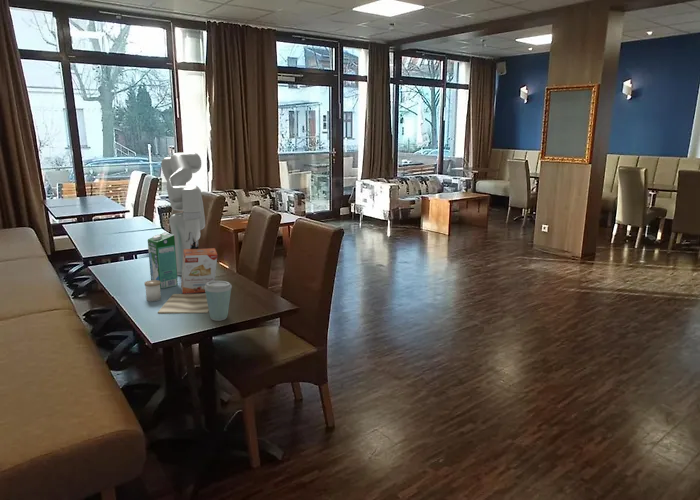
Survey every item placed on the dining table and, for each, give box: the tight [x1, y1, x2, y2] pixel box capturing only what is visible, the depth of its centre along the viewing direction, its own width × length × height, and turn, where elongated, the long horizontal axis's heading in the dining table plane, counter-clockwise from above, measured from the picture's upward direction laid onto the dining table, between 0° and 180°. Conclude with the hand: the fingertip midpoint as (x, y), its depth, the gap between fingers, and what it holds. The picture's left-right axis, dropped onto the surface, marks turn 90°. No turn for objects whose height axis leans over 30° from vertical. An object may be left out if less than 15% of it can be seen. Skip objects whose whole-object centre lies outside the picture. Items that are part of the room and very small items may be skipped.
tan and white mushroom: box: [144, 279, 162, 302], centre depth 217 cm, size 7×7×8 cm
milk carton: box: [147, 232, 179, 290], centre depth 234 cm, size 9×9×25 cm
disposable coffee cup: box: [204, 280, 233, 322], centre depth 195 cm, size 11×11×15 cm
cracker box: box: [180, 247, 218, 294], centre depth 222 cm, size 14×6×21 cm, turn 117°
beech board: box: [157, 293, 209, 314], centre depth 213 cm, size 23×20×1 cm
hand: (194, 255), depth 222 cm, fingers closed
